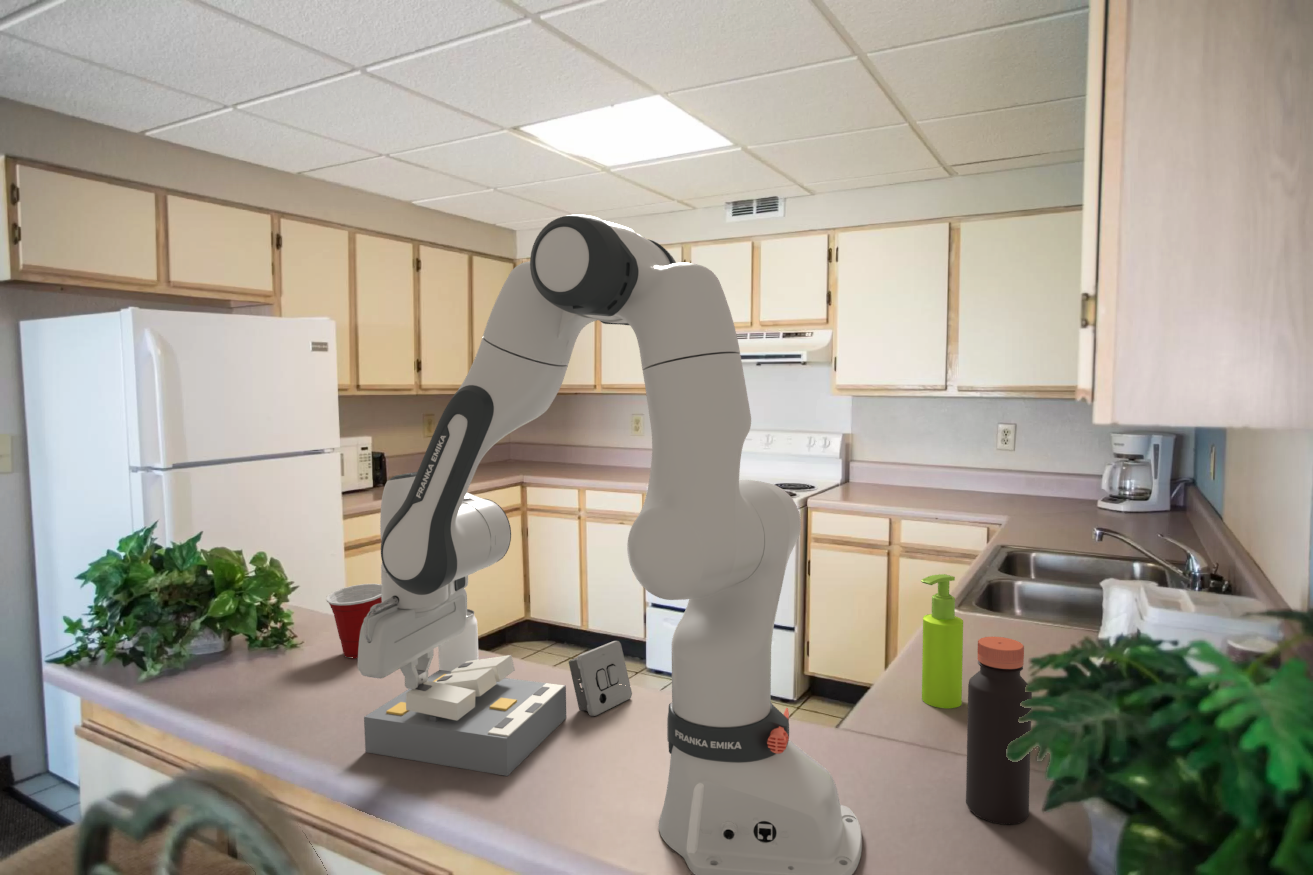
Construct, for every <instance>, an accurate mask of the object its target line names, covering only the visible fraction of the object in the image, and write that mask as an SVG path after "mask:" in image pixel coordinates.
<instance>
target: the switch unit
mask: <svg viewBox="0 0 1313 875" xmlns="http://www.w3.org/2000/svg"><path fill="white" fill-rule="evenodd" d="M446 674H451V671H445V670H439V669H438V670H437V671H435V672H433V673H432V674H431V675H428V681H431V682H435V681H437V680H438V679H440V678H442V677H443V676H445V675H446ZM410 690H411V689H408V688H407V690H405V691H404V692H402V693H400V694H399V695H397V696H395V697H394V698H392V699H391V700H389V701H387V702H386V703H384V704H382V705H381V706H379V707H378V708H376V709H375V710H373V711H371V712H370V713H368V714H366V715H365V716H364V717H363V721H364V722H363V724H364V725H363V726H364V749H365V751H364V752H365V753H370V754H373V755H375V754H376V755H381V756H386V757H392V758H393V757H394V758H398V759H405V760H410V761H417V762H421V763H427V764H433V765H439V766H440V765H441V766H446V767H452V768H459V769H463V770H468V771H476V772H480V773H488V774H493V775H494V774H495V775H500V776H506V777H509V775H510V774H511V773H512V772H513V771H514V770H515V769H516V768H517V767H518V766H520V764H521V763H522V762H523V761H525V759H526V758H527V757H529V755H530V754H532V752H534V751H535V749H536V748H538V747H539V745H540V744H542V743H543V742H544V740H546V738H547V737H549V736H550V735H551V734H552V733H553V732H554V730H556V729H557V728H558V727H559V725H561V724H562V723H563V722H564V721H565V720H566V719H567V693H566V692H567V686H566V685H564V684H558V683H557V684H556V683H549V682H543V681H542V682H540V681H533V680H532V681H531V680H523V679H518V678H517V679H515V678H507V677H505V678H504V679H503V680H501V681H500V682H496V685H495V686H493V687H492V688H491V689H489V690H488V691H486V692H485V693H484V694H482V695H481V696H477V697H475V707H474V708H473V709H472V710H470V711H469V712H468V713H466V714H465V715H464V716H463V717H461V718H460V719H459V720H457V721H456V720H452V719H447V718H442V717H438V716H433V715H428V714H424V713H419V712H414V711H410V710H406V693H407V692H408V691H410Z"/></svg>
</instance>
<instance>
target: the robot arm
mask: <svg viewBox="0 0 1313 875" xmlns="http://www.w3.org/2000/svg"><path fill="white" fill-rule="evenodd" d="M529 258H530V259H529V260H528V261H524V262H521V263H520V264H518V265H516V266H515V267H514V268H512V270H511V271H510V273H509V274H508V276H507V277H506V280H505V281H504V283H503V285H502V287H501V289H500V291H499V294H498V296H497V298H496V300H495V302H494V304H493V307H492V309H491V311H490V314H489V317H488V320H487V322H486V326H485V328H484V331H483V335H482V337H481V341H480V344H479V346H478V349H477V352H476V354H475V357H474V360H473V362H472V364H471V366H470V368H469V371H468V373H467V374H466V376H465V378H464V379H463V382H462V383H461V385H460V386H459V388H458V389H457V391H456V392H455V393H454V394H453V396H452V397H451V399H450V400H449V402H448V403H447V405H446V406H445V408H444V410H443V412H442V414H441V416H440V417H439V421H438V423H437V424H436V427H435V429H434V432H433V434H432V436H431V439H430V441H429V444H428V446H427V449H426V450H425V453H424V456H423V458H422V460H421V463H420V465H419V467H418V470H417V471H414V472H413V471H412V472H408V473H407V472H406V473H402V474H397V475H394V476H392V477H391V478H389V479H388V480H387V481H386V483H385V484H384V487H383V491H382V494H381V503H380V519H379V520H380V525H379V526H380V527H379V529H380V541H381V542H380V559H381V564H380V575H381V576H380V578H381V579H380V580H381V591H382V603H378V604H375V605H374V606H372V607H371V608H370V611H369V613H368V614H367V616H366V617H365V618H364V622H363V624H362V627H361V631H360V638H359V648H358V658H357V670H358V671H359V673H360V675H362V676H363V677H367V678H374V679H378V680H379V679H381V680H382V679H384V678H386V677H388V676H389V675H391V674H393V673H396V671H398V670H400V671H401V673H402V675H403V676H404V687H405V688H406V689H407V690H408V689H415V688H417V687H419V686H420V685H421V684H423V683H425V682H426V681H428V677H429V670H430V666H431V664H432V660H433V658H434V649H437V648H438V646H440V645H441V644H443V643H445V642H446V641H448V640H450V639H452V638H453V637H455V636H457V635H459V634H460V633H462V632H463V630H464V628H465V625H466V622H467V609H468V594H467V590H466V588H467V587H468V584H469V576H470V575H473V574H476V572H479V571H482V570H484V569H486V568H488V567H489V568H490V566H492V565H494V564H496V563H498V562H499V561H501V560H502V559H504V557H505V556H506V554H507V553H508V551H509V549H510V547H511V546H510V545H511V541H512V528H511V524H510V521H509V518H508V516H507V514H506V512H505V511H504V509H503V508H502V507H501V506H500V505H499V504H498V503H497V502H495V500H494V501H493V500H491V499H490V498H489V499H488V498H482V497H480V496H477V495H475V494H473V493H470V492H468V491H469V488H470V485H471V483H472V480H473V478H474V476H475V474H476V471H477V469H478V467H479V464H480V463H481V461H482V459H483V458H484V457H485V455H486V454H487V453H488V451H490V449H492V448H493V447H494V445H496V444H497V443H498V442H499V441H501V440H502V439H503V438H505V437H506V436H507V435H510V433H513V432H515V430H517V429H519V428H521V427H523V426H525V425H526V424H528V423H530V422H532V421H534V420H536V419H537V418H539V417H540V416H542V415H543V414H545V413H546V412H547V411H548V409H549V408H550V407H551V405H552V403H553V401H554V400H555V398H556V397H557V394H558V393H559V391H560V389H561V386H562V385H563V382H564V380H565V376H566V373H567V370H568V366H569V363H570V361H571V358H572V354H573V350H574V347H575V344H576V342H577V339H578V336H579V335H580V333H581V332H582V330H583V329H584V328H585V327H586V326H587V325H589V324H591V323H592V322H596V321H599V322H600V323H602V324H605V325H620V326H621V325H623V326H630V328H631V329H632V330H633V333H634V334H635V337H636V340H637V344H638V349H639V356H640V363H641V369H642V376H643V381H644V382H643V383H644V388H645V393H646V394H645V395H646V402H647V409H648V414H649V421H650V430H651V460H650V461H651V463H650V471H649V479H648V486H647V490H646V495H645V499H644V502H643V505H642V508H641V509H640V511H639V514H638V515H637V517H636V518H635V520H634V522H633V523H632V525H631V528H630V530H629V533H628V538H627V543H626V545H627V558H628V562H629V566H630V568H631V572H632V573H633V574H634V576H635V579H636V580H637V582H638V583H639V584H640V586H642V587H643V588H644V589H645V590H646V591H647V592H648V593H650V594H651V595H653V596H655V597H657V598H659V599H662V600H665V601H667V600H668V601H678V600H679V601H682V600H683V601H684V600H685V601H686V600H688V602H687V605H686V607H685V611H684V612H683V615H682V617H681V619H680V621H679V622H678V623H677V625H676V627H675V629H674V632H673V635H672V638H671V702H670V703H669V705H668V713H667V717H666V718H667V720H666V721H667V723H666V726H667V727H666V729H667V730H666V731H667V732H666V735H667V737H666V738H667V739H666V740H667V742H668V744H667V745H668V753H669V754H670V760H669V761H670V762H669V772H668V780H667V786H666V793H665V798H664V803H663V806H662V810H661V813H660V816H659V819H658V830H659V834H660V836H661V838H662V839H663V841H664V842H665V843H666V845H667V846H669V848H671V849H672V850H673V851H674V852H676V853H677V854H679V855H680V856H681V857H682V858H683V859H684V861H685V863H686V865H687V867H688V868H689V870H690V871H691V873H692V874H693V875H854V873H855V872H856V870H857V868H858V866H859V863H860V859H861V857H862V851H863V850H862V848H863V837H862V827H861V824H860V822H859V819H858V817H857V816H856V814H855V813H854V812H853V811H852V809H851V808H850V807H849V806H846V805H843V804H841V802H840V796H839V793H838V788H837V786H836V782H835V780H834V778H833V776H832V774H831V773H830V771H829V770H828V769H827V768H826V767H825V766H823V765H822V764H821V763H819V761H817V760H816V759H814V758H813V757H812V756H810V755H809V754H808V753H806V752H805V751H804V750H803V749H802V748H800V747H799V746H798V745H796V743H794V742H793V741H791V739H790V721H789V720H790V718H789V717H790V713H789V712H790V711H789V708H788V707H786V708H785V709H784V712H783V713H782V712H781V710H779V709H778V708H777V707H776V706H775V705H774V704H773V703H772V701H771V693H772V692H771V689H772V688H771V683H772V681H771V680H772V644H773V643H772V642H773V634H774V627H775V622H776V617H777V612H778V611H777V610H778V606H779V602H780V596H781V593H782V589H783V588H782V587H783V584H784V579H785V574H786V569H787V565H788V562H789V560H790V557H791V554H792V552H793V550H794V548H795V546H796V544H797V542H798V540H799V537H800V535H801V534H800V533H801V527H802V526H801V523H802V522H801V515H800V514H801V513H800V512H799V509H798V508H799V507H798V506H797V505H796V502H795V501H794V499H793V497H792V496H791V495H790V494H789V493H788V492H787V491H785V490H784V489H783V488H781V487H779V486H778V485H776V484H773V483H769V482H765V481H759V480H751V479H740V469H741V458H742V452H743V447H744V443H745V440H746V439H747V437H748V436H749V433H750V430H751V425H752V414H751V410H750V409H751V408H750V402H749V396H748V391H747V385H746V379H745V373H744V368H743V361H742V356H741V350H740V345H739V340H738V335H737V331H736V327H735V323H734V320H733V317H732V312H731V309H730V307H729V304H728V301H727V297H726V294H725V292H724V290H723V289H724V288H723V287H722V284H721V282H720V280H719V278H718V276H717V275H716V274H715V273H714V272H713V271H712V270H711V269H710V268H708V267H706V266H704V265H700V264H698V263H693V262H691V263H690V262H676V260H675V258H674V257H673V256H672V255H671V253H670V252H669V251H668V250H667V249H666V248H664V246H662V245H661V244H659V243H658V242H656V241H655V240H653V239H652V240H651V239H648V238H646V237H645V236H642V235H641V234H639V233H637V232H636V231H634V230H633V229H632V228H629V227H627V226H624V225H621V224H618V223H616V222H615V223H614V222H611V221H606V220H603V219H601V218H599V217H596V216H593V215H590V214H589V215H586V214H568V215H563V216H560V217H557V218H555V219H553V220H551V221H549V223H548V224H546V225H545V226H544V227H543V228H542V229H541V230H540V231H539V233H538V235H537V236H536V238H535V240H534V243H533V245H532V248H531V252H530V257H529Z"/></svg>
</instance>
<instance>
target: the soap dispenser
mask: <svg viewBox="0 0 1313 875" xmlns="http://www.w3.org/2000/svg"><path fill="white" fill-rule="evenodd" d="M954 581H956V577H955V576H953V575H949V574H946V573H942V574H940V573H939V574H932V575H929V576H926V577H923V578H922V579H921V580H920V582H921V584H925V585H927V586H928V585H929V586H933V585H935V584H937V593H935V594H933V595H932V596H931V613H929V614H928V613H927V614H924V615H923V617H922V654H921V656H922V658H921V659H922V660H921V665H922V666H921V668H922V669H921V700H922V701H923V703H925V704H926V705H929V706H930V707H934V708H939V709H946V710H947V709H948V710H949V709H956V708H959V707H960V706H962V702H963V701H962V700H963V698H962V697H963V656H964V655H963V654H964V653H963V652H964V651H963V649H964V619H962V618H961V617H959V616H957V615H956V614H955V612H956V609H955V608H956V599H955V598H956V597H955V596H952V594H950V582H954Z"/></svg>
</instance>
